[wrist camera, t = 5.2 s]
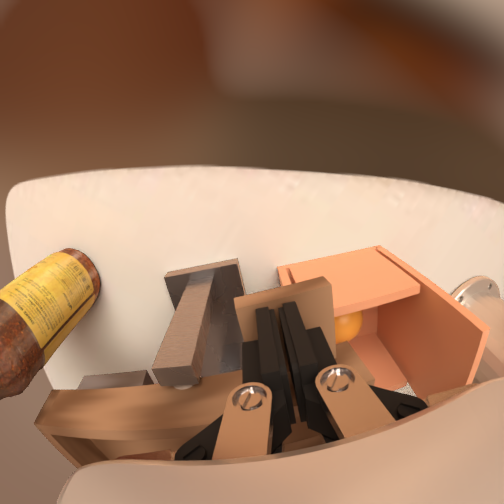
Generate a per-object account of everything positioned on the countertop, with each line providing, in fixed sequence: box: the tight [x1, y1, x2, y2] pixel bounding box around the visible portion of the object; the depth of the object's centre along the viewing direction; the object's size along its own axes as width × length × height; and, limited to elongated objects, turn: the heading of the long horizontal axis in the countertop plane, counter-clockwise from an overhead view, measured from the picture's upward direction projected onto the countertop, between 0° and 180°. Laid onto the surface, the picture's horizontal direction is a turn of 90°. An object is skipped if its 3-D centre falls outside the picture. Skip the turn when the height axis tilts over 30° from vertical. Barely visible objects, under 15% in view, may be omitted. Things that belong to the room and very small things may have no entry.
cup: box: [277, 245, 490, 400], centre depth 17 cm, size 9×9×14 cm
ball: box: [334, 310, 363, 344], centre depth 22 cm, size 4×4×4 cm
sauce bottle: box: [0, 248, 100, 400], centre depth 13 cm, size 7×6×20 cm
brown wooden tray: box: [34, 276, 375, 469], centre depth 13 cm, size 18×12×6 cm, turn 101°
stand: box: [151, 258, 246, 386], centre depth 19 cm, size 6×12×12 cm, turn 11°
